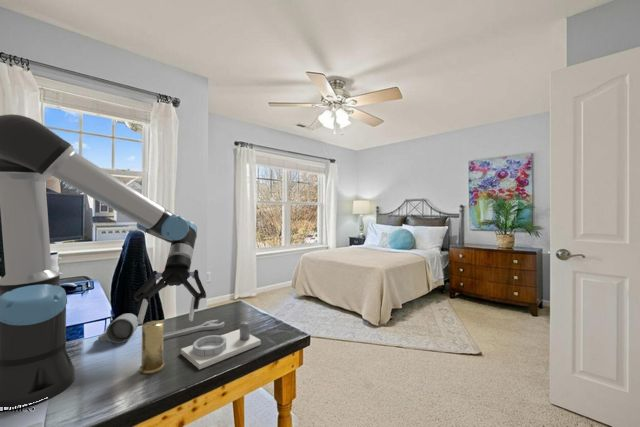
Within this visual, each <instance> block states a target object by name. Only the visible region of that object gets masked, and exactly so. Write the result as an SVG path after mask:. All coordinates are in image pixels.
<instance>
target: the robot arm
mask: <svg viewBox="0 0 640 427" xmlns="http://www.w3.org/2000/svg"><path fill="white" fill-rule="evenodd" d="M52 177H53V178H56V179H57V180H60V181H61V182H63V183H65V184H67V185H68V186H70V187H72V188H74V189H75V190H77V191H79V192H81V193H83V194H84V195H87V196H88V197H90V198H92V199H93V200H95V201H98V202H99V203H101V204H103V205H104V206H107V207H108V208H110V209H112V210H114V211H115V212H117V213H119V214H120V215H122V216H124V217H126V218H128V219H129V220H132V221H133V222H135V223H136V228H137V229H138V230H140V231H142V232H143V233H145V234H149V235H150V236H152V237H155V238H158V239H160V240H163V241H164V242H167V243H169V244H170V247H169V252H168V256H167V259H166V262H165V266H164V270H163V271H162V272H158V271H157V270H153V271H152V273H151V274H150V277H149V278H148V279H147V280H145V282H144V284H142V286H141V287H140V288H139V289H138V290H137V291H136V292H135V293H134V294H133V299H134V300H135V301H136V302H138V303H137V307H136V311H137V313H138V315H137V322H138V323H139V324H138V325H143V324H144V319H145V316H146V313H147V309H148V305H149V302H148V301H149V300H150V299H151V298H152V297H154V296H155V295H156V294H157V293H159V292H160V291H161V290H163V289H165V288H166V287H167V286H169V287H173V286H177V287H178V286H181V285H182V286H184V288H186V289H187V291H188V292H189V293H190V294H191V300H190V306H189V313H188V320H189V321H190V322H193V321H194V316H195V310H198V309H199V306H200V301H201V300H202V299H206V298H207V292H206V289H205V288H204V286H203V284H202V281H201V279H200V274H199V270H198V269H195V270H194V271H190V269H191V264H192V259H193V255H194V254H193V253H194V250H195V249H194V248H195V244H196V240H197V237H198V234H197V233H198V227H197V224H195V223H194V222H193V221H191V220H187V219H186V218H184V217H183V216H181V215H178V214H177V215H176V214H174V213H173V212H171V211H169V210H168V209H166V208H165V207H163V206H162V205H160V204H158V203H156V202H155V201H153V200H152V199H150V198H148V197H147V196H146V195H145V194H142V193H141V192H139V191H137V190H136V189H134V188H133V187H131V186H130V185H128V184H126V183H125V182H123V181H122V180H120V179H119V178H117V177H116V176H114V175H112V174H111V173H109V172H107V171H106V170H104V169H102V168H101V167H100V166H98V165H96V164H95V163H94V162H92V161H91V160H88V158H85V157H84V156H82V155H80V154H79V153H77V152H76V151H75V149H74V145H72V144H71V143H70V142H68V141H66V140H65V139H64V138H62V137H61V136H60V135H58V134H56V133H54V132H53V131H52V130H50V129H49V128H47V127H46V126H45V125H43V123H41V122H38V121H37V120H35V119H33V118H31V117H27V116H25V115H21V114H20V115H19V114H13V113H12V114H1V115H0V219H1V233H2V234H1V235H2V245H3V256H4V257H3V258H4V260H3V261H4V270H5V274H4V276H2V278H1V279H0V407H15V406H18V405H24V404H28V403H33V402H36V401H39V400H41V399H44V398H46V397H48V398H49V399H51V398H52V397H54V396H57V395H58V394H60V393H62V392H64V391H65V390H66V389H68V387H70V386H71V385H72V383H73V382H74V381H75V378H76V370H75V369H76V368H75V366H74V365H73V363H72V360H71V358H70V355H69V353H68V350H67V348H66V347H67V346H66V345H67V344H66V343H67V342H66V341H67V336H66V335H67V327H66V326H67V304H68V297H67V293H66V290H65V288H63V287H62V286H61V280H60V272H58V271H56V270H54V269H53V268H52V257H51V242H50V227H49V215H48V213H49V212H48V211H49V210H48V202H47V201H48V199H47V198H48V197H47V186H46V182H47V181H48V180H49V179H51V178H52ZM190 277H191V278H192V279H194V282H195V283H196V286H197V288H198V290H199V292H198V291H197V289H196V288H194V286H193V285H192V284H191V283H190V282H189V281H188V279H189V278H190ZM160 278H161V279H160ZM157 280H159V281H158V282H157ZM50 397H51V398H50Z"/></svg>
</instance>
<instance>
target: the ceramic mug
mask: <svg viewBox="0 0 640 427" xmlns="http://www.w3.org/2000/svg"><path fill="white" fill-rule="evenodd" d="M137 318H138V316H137V315H136V314H134V313H130V312H129V313H122V314H121V315H119V316H118V317H115V319H114V320H113V321H111V322H110V323H109V324H108V325H107V328H106V330H105V332H103V333H101V334H100V335H99V336H98V337H97V339H98V341H99V342H101V343H102V342H104V341H106V340H109V341H110V342H111V343H114V344H122V343H125V342H127V341H128V340H130V339H131V338H132V336H133V335H134V333H135V332H136V330H137V329H138V327H139V325H140V324H139V323H138V322H137Z"/></svg>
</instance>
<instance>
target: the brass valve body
mask: <svg viewBox="0 0 640 427" xmlns="http://www.w3.org/2000/svg"><path fill="white" fill-rule="evenodd" d="M164 324H165V323H164V321H163V320H151V321H147V322H144V323H143V324H141V365H140V367H139V373H140V374H141V375H145V376H147V375H149V376H150V375H153V374H154V375H155V374H156V373H159V372H161V371H163V370H164V368H165V366H166V365H165V364H166V363H165V361H164V340H163V334H164Z"/></svg>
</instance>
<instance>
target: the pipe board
mask: <svg viewBox="0 0 640 427" xmlns="http://www.w3.org/2000/svg"><path fill="white" fill-rule="evenodd" d="M261 344H262V340H261V339H260V338H258V337H257V336H254V335H252V334H251V322H250V321H247V320H246V321H241V322H240V323H239V328H238V329H236V330H232V331H229V332H228V333H225V334H221V335H218V334H216V335H215V334H213V335H205V336H203V337H200V338H198V339H196V340H195V341H194V342H193V343H192V345H188V346H186V347H182V348H181V349H180V355H182V356H183V357H184V358H185V359H187V360H188V362H190V363H192V365H193V366H195V367H196V368H197V369H198V370H202V369H204V368H207V367H210V366H212V365H214V364H217V363H220V362H222V361H224V360H227V359H229V358H231V357H234V356H236V355H239V354H241V353H244V352H246V351H249V350H251V349H253V348H257V347H258V346H260V345H261Z"/></svg>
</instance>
